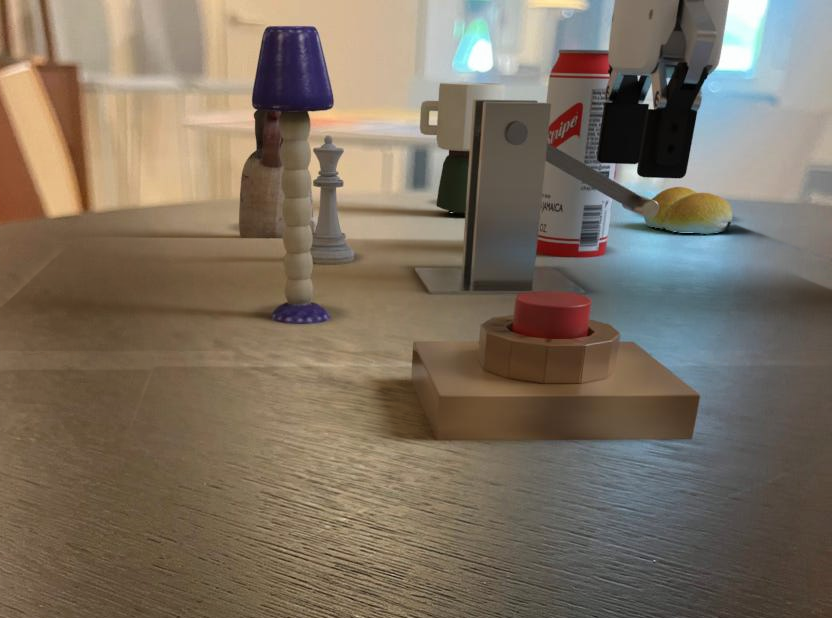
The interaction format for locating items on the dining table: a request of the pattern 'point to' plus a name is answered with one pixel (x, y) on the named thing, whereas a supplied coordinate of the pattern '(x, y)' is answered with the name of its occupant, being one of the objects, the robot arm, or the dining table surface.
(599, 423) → the button base
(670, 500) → the dining table surface
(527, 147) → the switch bracket
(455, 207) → the character mug
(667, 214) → the bread roll
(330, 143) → the chess piece
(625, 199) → the switch lever
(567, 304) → the timer button
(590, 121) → the beer can
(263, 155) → the figurine
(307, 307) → the toy lamp
